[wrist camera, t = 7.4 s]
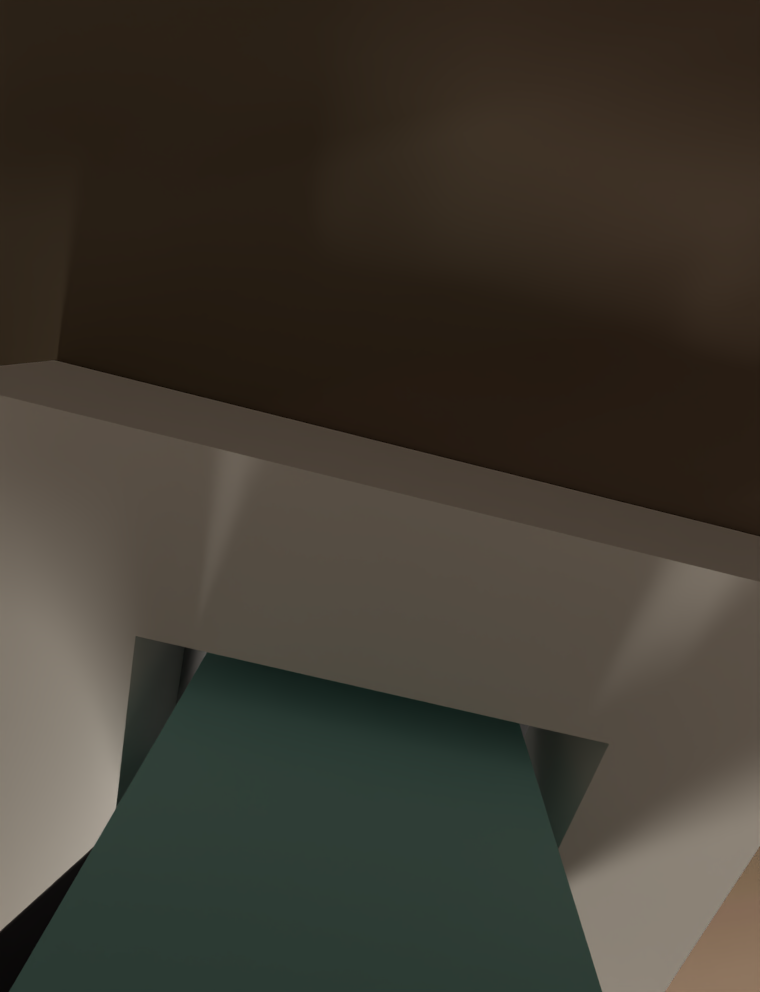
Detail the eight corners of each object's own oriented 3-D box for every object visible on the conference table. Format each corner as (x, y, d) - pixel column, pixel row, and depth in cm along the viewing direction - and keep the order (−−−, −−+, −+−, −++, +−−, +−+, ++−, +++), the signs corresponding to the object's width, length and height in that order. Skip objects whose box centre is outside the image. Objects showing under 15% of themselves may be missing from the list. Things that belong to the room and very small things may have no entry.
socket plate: (532, 988, 12) (564, 1145, 10) (30, 885, 12) (-62, 1026, 10) (769, 538, 9) (908, 618, 6) (54, 360, 8) (-85, 374, 6)
